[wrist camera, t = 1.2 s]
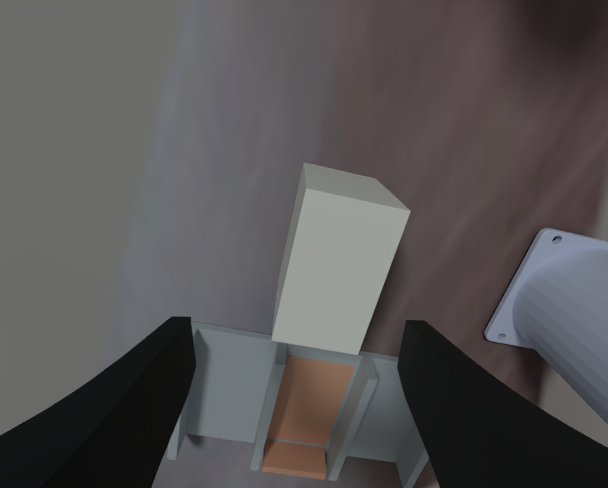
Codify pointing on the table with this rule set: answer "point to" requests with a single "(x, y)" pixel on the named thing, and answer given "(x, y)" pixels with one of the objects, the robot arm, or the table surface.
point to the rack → (299, 405)
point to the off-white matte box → (336, 259)
